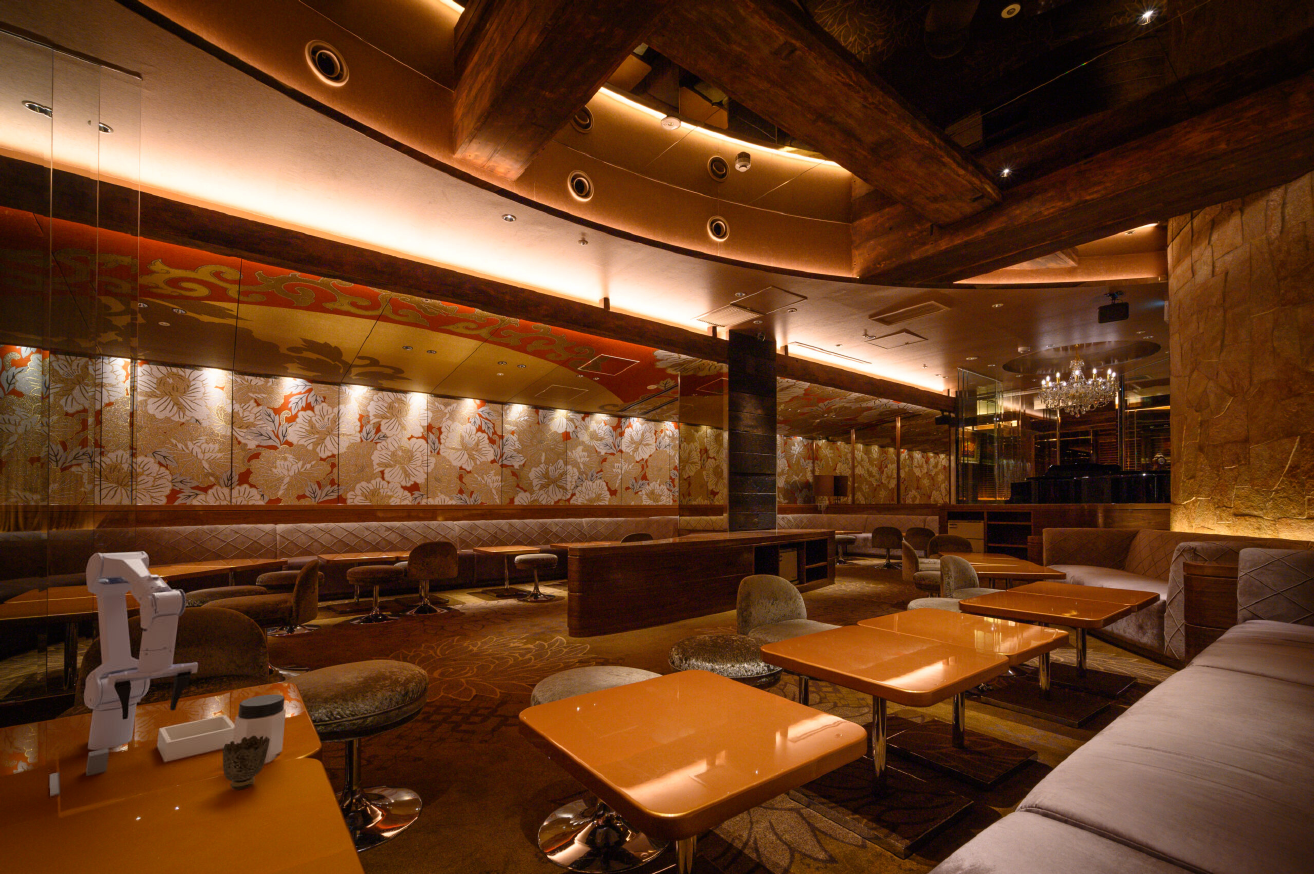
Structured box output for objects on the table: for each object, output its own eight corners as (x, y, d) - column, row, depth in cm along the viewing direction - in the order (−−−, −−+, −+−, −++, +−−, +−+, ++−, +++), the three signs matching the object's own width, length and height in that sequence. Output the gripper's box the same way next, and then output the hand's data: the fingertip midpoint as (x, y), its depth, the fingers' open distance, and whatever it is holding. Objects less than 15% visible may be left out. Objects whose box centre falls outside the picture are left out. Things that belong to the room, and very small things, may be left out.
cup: (228, 799, 102) (233, 752, 104) (210, 789, 106) (215, 744, 108) (273, 783, 109) (277, 739, 110) (255, 774, 113) (259, 732, 114)
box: (156, 749, 125) (159, 728, 125) (223, 734, 133) (225, 714, 134) (164, 765, 116) (166, 742, 117) (234, 748, 125) (236, 727, 126)
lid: (49, 779, 112) (53, 752, 112) (134, 759, 121) (137, 735, 122) (48, 800, 103) (53, 771, 104) (140, 778, 112) (144, 751, 113)
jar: (228, 771, 114) (235, 709, 116) (231, 757, 121) (238, 698, 123) (281, 761, 119) (287, 701, 121) (281, 748, 126) (287, 691, 127)
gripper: (112, 656, 115) (103, 727, 113) (202, 645, 125) (195, 709, 123) (111, 651, 119) (101, 718, 117) (197, 640, 130) (190, 702, 128)
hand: (149, 713), depth 121 cm, fingers open, 7 cm apart
